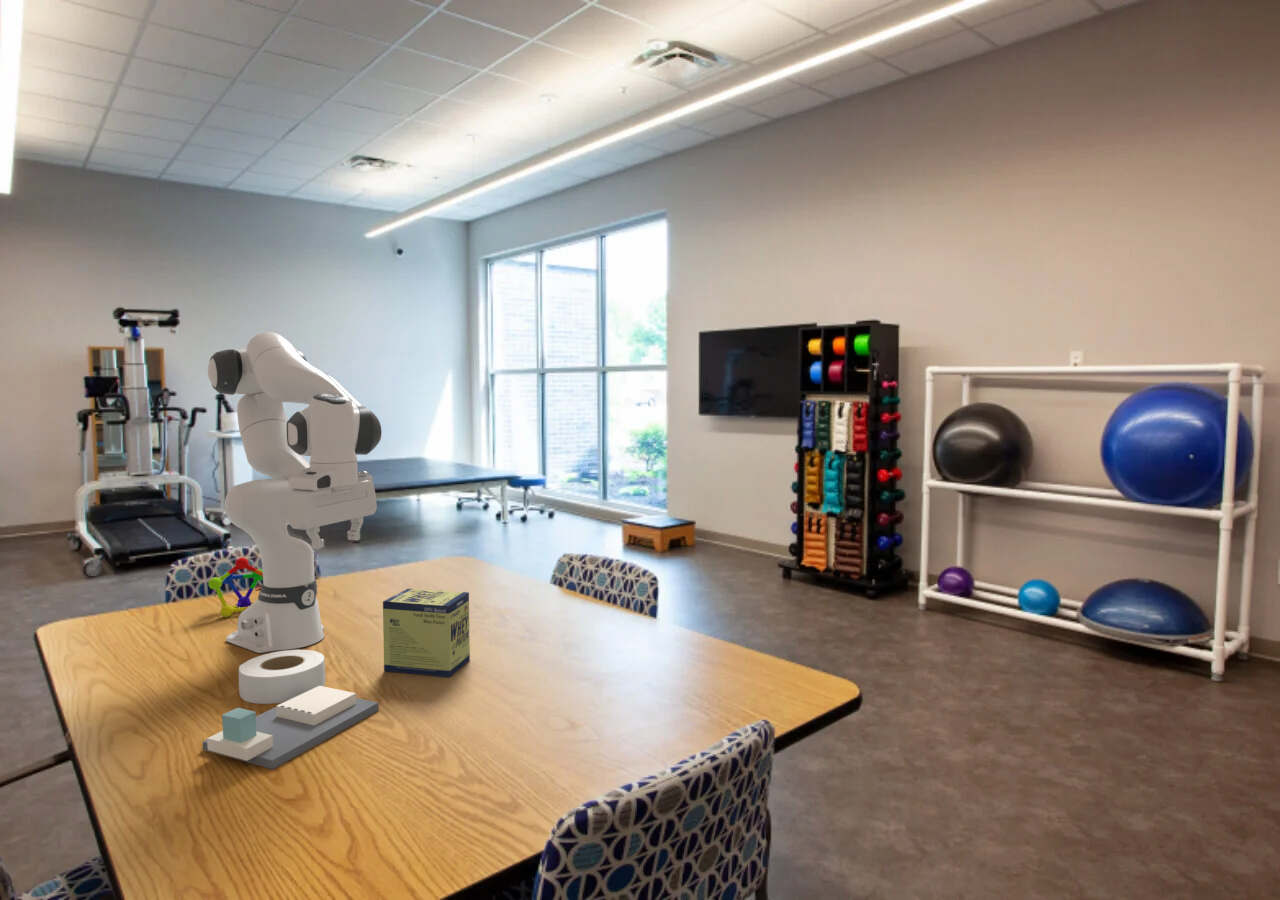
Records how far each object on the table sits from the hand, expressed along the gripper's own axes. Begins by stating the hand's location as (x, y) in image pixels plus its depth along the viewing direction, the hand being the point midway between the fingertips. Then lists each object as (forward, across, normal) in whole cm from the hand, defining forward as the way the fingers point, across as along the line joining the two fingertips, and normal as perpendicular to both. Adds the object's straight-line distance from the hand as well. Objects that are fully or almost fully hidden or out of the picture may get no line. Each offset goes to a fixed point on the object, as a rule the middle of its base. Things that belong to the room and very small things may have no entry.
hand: (336, 543), depth 155 cm
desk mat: (+29, +19, +8) cm, 36 cm away
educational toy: (+29, -27, -61) cm, 73 cm away
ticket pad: (+28, +14, +8) cm, 32 cm away
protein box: (+29, -15, +10) cm, 34 cm away
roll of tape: (+30, +6, -9) cm, 31 cm away
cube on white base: (+27, +30, +8) cm, 42 cm away
